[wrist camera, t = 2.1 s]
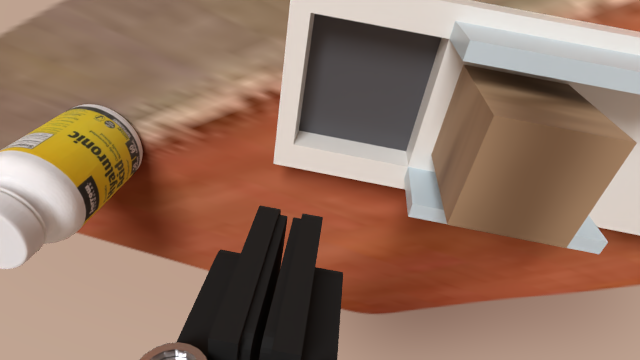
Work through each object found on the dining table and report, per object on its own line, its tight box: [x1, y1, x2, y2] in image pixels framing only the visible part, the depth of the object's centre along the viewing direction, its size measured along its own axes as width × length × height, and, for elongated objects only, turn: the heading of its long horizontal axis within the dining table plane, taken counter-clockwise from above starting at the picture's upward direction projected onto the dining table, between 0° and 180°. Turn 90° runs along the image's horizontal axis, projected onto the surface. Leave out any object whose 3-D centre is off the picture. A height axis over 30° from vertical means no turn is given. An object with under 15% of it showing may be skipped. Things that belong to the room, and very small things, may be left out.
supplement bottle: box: [0, 104, 143, 269], centre depth 22 cm, size 5×5×10 cm
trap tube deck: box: [274, 0, 640, 254], centre depth 20 cm, size 26×10×6 cm, turn 81°
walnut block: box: [431, 64, 637, 248], centre depth 18 cm, size 5×5×6 cm
